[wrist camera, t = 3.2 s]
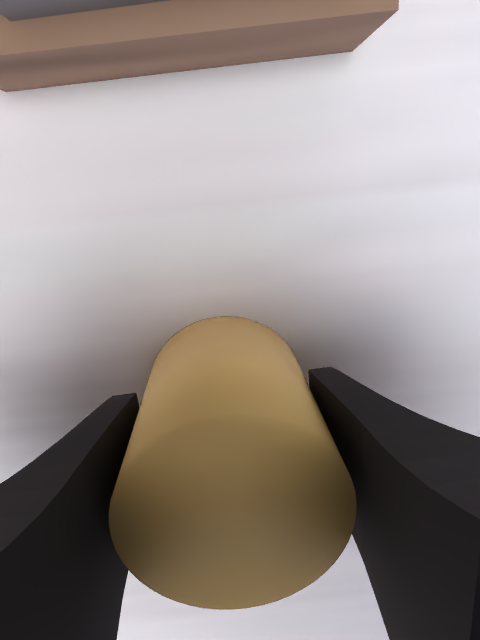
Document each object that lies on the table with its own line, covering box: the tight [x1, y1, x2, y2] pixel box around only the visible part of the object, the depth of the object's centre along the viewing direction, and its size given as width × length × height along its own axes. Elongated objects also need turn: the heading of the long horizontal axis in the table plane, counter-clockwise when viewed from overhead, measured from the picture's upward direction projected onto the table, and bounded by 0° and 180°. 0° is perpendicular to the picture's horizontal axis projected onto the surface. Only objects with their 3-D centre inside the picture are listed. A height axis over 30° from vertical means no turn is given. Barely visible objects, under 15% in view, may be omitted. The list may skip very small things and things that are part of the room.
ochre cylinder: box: [109, 316, 357, 609], centre depth 10 cm, size 4×4×5 cm
